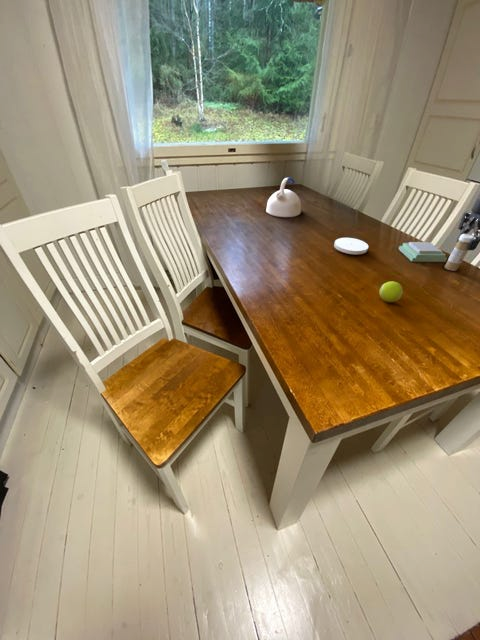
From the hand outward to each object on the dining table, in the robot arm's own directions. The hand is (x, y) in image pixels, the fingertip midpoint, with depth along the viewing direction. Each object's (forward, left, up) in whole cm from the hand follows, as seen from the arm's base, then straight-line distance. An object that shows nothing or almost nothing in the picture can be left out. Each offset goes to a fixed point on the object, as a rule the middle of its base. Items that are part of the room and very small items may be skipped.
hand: (464, 246), depth 101 cm
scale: (+6, -12, -9) cm, 16 cm away
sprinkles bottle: (0, 0, -10) cm, 10 cm away
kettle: (+58, -68, -10) cm, 90 cm away
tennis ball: (+35, +22, -10) cm, 42 cm away
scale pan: (+6, -12, -7) cm, 15 cm away
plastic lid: (+35, -17, -10) cm, 40 cm away
